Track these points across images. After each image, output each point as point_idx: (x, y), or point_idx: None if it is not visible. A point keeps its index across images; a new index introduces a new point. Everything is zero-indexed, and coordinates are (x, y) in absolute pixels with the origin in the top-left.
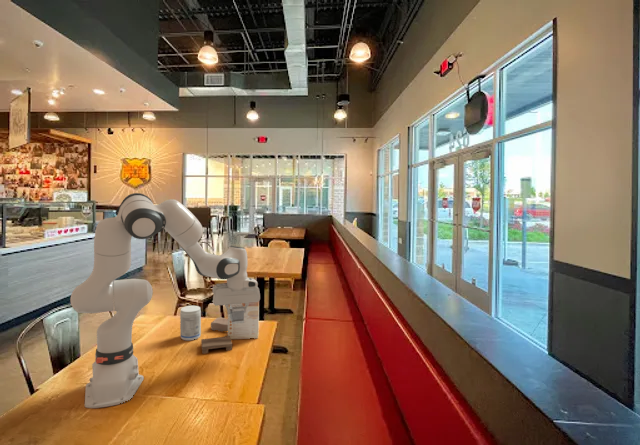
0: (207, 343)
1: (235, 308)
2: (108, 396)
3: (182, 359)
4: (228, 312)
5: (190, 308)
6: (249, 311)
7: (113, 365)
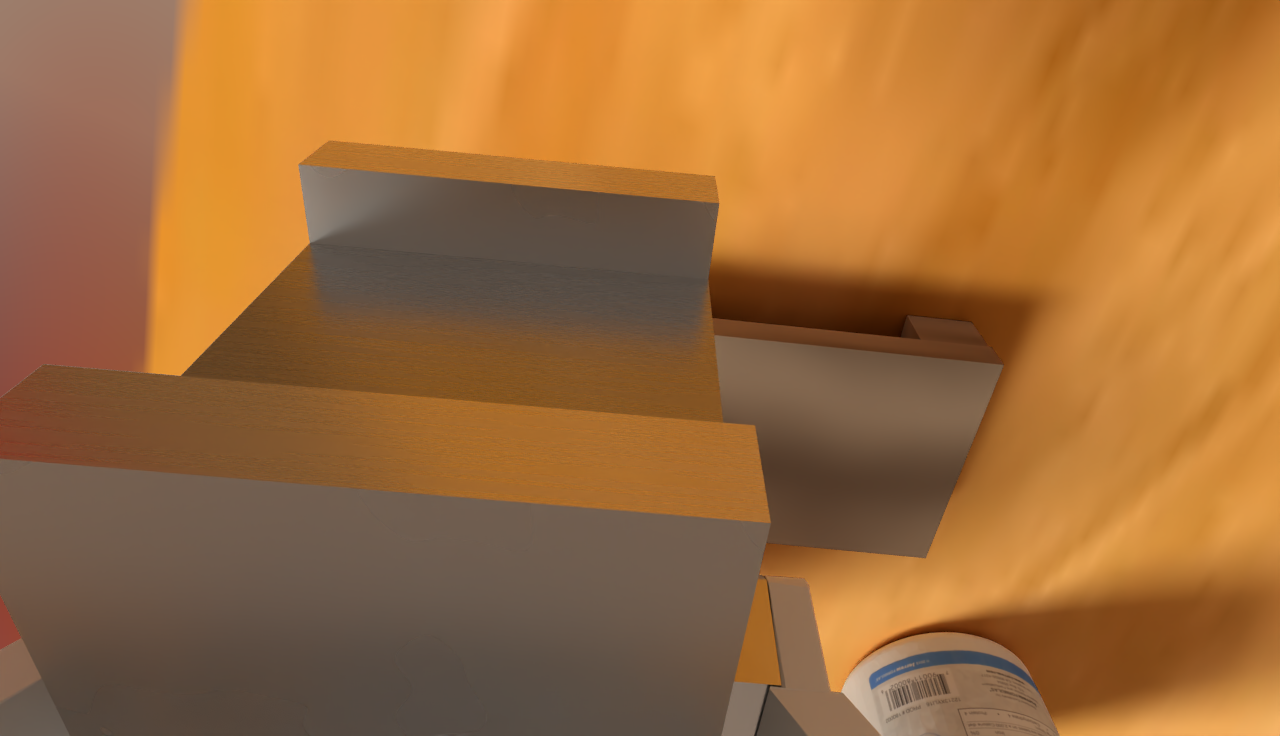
0: (903, 440)
1: (546, 585)
2: None
3: (1230, 273)
4: (796, 621)
5: None
6: None
7: None
